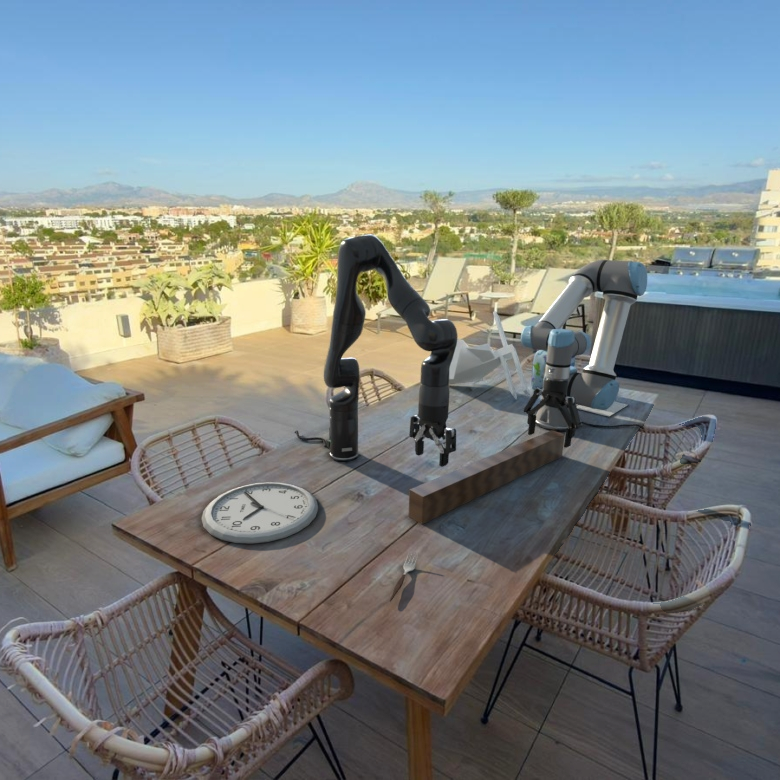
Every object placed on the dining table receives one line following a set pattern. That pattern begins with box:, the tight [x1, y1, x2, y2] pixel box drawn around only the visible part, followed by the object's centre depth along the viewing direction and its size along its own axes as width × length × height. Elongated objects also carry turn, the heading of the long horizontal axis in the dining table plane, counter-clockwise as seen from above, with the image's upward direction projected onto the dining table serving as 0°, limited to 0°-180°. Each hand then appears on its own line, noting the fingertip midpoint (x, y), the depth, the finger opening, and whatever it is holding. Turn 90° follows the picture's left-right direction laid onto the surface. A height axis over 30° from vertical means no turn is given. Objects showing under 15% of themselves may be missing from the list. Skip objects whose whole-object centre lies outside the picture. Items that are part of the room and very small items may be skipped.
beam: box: [408, 430, 566, 525], centre depth 156 cm, size 66×5×8 cm, turn 131°
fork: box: [389, 550, 419, 602], centre depth 113 cm, size 3×16×2 cm, turn 160°
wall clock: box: [201, 481, 319, 544], centre depth 139 cm, size 30×2×30 cm
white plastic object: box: [449, 310, 531, 400], centre depth 245 cm, size 37×45×31 cm
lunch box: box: [530, 350, 576, 391], centre depth 247 cm, size 26×11×21 cm, turn 134°
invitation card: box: [576, 401, 629, 418], centre depth 226 cm, size 21×1×15 cm
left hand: (431, 459), depth 135 cm, fingers open, 8 cm apart
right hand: (548, 440), depth 173 cm, fingers open, 13 cm apart
